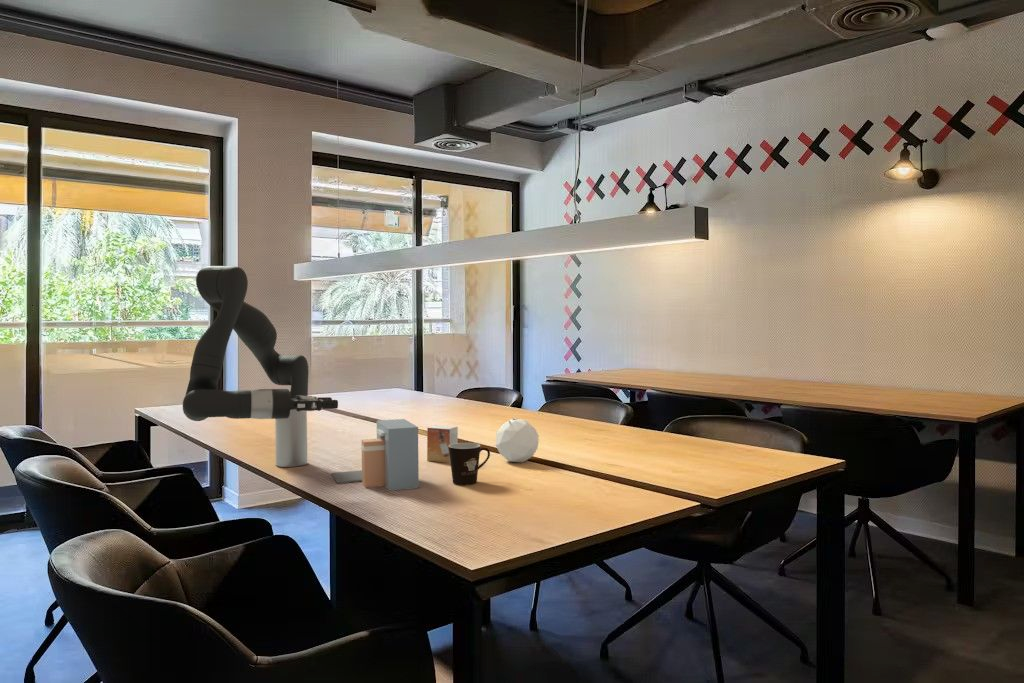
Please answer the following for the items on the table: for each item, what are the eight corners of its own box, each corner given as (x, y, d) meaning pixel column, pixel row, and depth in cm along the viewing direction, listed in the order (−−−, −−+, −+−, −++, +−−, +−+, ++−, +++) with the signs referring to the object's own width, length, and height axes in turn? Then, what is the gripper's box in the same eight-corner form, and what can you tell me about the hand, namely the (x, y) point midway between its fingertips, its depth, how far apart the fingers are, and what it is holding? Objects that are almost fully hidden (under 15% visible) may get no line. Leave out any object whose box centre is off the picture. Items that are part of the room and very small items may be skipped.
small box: (426, 461, 224) (426, 427, 223) (435, 458, 229) (435, 424, 228) (450, 463, 221) (449, 428, 220) (458, 459, 226) (457, 426, 225)
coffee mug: (449, 486, 190) (449, 449, 190) (447, 479, 199) (447, 443, 199) (493, 485, 192) (493, 447, 192) (489, 477, 201) (489, 442, 200)
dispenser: (374, 478, 201) (373, 420, 201) (404, 475, 204) (404, 418, 204) (385, 491, 186) (384, 429, 186) (418, 488, 189) (418, 427, 189)
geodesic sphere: (527, 450, 211) (536, 409, 218) (483, 447, 215) (493, 407, 223) (539, 471, 222) (547, 432, 229) (497, 468, 227) (506, 430, 234)
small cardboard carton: (361, 484, 194) (361, 439, 194) (384, 482, 196) (384, 438, 196) (364, 487, 190) (363, 442, 190) (387, 485, 192) (387, 440, 192)
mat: (331, 474, 206) (331, 472, 206) (370, 471, 210) (370, 469, 210) (337, 483, 195) (337, 481, 195) (378, 480, 199) (378, 478, 199)
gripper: (273, 390, 176) (340, 390, 183) (266, 387, 189) (329, 386, 196) (272, 421, 176) (339, 419, 183) (266, 416, 189) (329, 414, 196)
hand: (334, 402), depth 189 cm, fingers open, 8 cm apart
